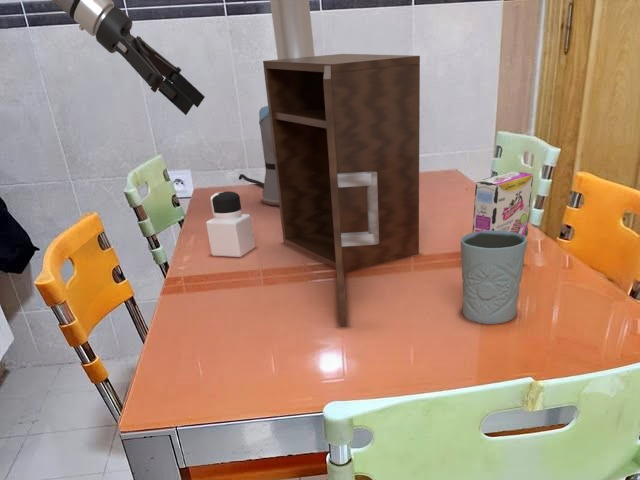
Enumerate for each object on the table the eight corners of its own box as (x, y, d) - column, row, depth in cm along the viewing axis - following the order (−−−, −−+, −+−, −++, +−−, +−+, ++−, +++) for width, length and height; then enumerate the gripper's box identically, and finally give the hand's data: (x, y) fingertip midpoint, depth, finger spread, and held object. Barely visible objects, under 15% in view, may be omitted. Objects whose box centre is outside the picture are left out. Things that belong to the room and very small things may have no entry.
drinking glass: (481, 330, 101) (486, 252, 94) (445, 310, 108) (447, 236, 101) (532, 316, 104) (541, 240, 97) (494, 298, 112) (500, 225, 105)
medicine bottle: (255, 247, 143) (247, 189, 136) (240, 257, 137) (231, 197, 130) (227, 246, 145) (217, 189, 138) (211, 256, 140) (200, 196, 133)
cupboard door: (373, 271, 126) (365, 63, 106) (382, 323, 104) (375, 75, 84) (338, 273, 126) (324, 65, 106) (340, 326, 104) (323, 78, 84)
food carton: (490, 280, 119) (497, 184, 109) (468, 275, 122) (473, 181, 112) (525, 265, 125) (534, 172, 115) (503, 260, 128) (511, 169, 118)
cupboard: (344, 273, 126) (331, 64, 106) (283, 243, 145) (262, 60, 124) (418, 254, 133) (420, 55, 113) (352, 228, 152) (342, 53, 132)
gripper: (112, 37, 139) (195, 113, 147) (74, 40, 118) (173, 128, 127) (131, 5, 135) (215, 85, 144) (95, 3, 115) (195, 96, 124)
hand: (195, 105), depth 136 cm, fingers open, 13 cm apart
